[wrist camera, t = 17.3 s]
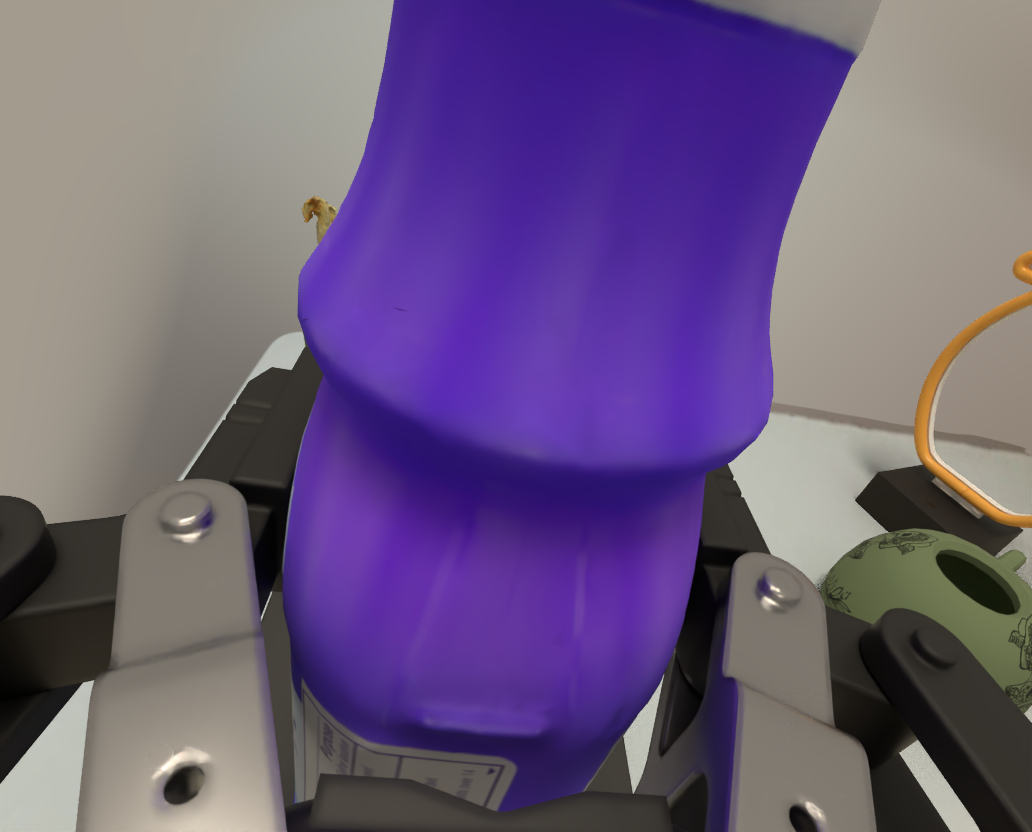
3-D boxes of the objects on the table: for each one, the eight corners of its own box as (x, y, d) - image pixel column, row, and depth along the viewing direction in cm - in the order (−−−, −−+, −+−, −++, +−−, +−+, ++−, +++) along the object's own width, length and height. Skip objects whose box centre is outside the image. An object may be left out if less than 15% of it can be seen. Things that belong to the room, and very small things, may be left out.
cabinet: (561, 984, 23) (654, 919, 16) (203, 983, 21) (152, 909, 14) (540, 645, 35) (589, 531, 28) (310, 624, 32) (308, 495, 26)
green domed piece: (938, 784, 33) (1053, 717, 28) (771, 603, 41) (836, 526, 36) (1044, 682, 41) (1149, 614, 36) (886, 547, 49) (952, 477, 44)
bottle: (347, 623, 17) (393, -183, 7) (529, 647, 18) (817, -58, 7) (255, 948, 11) (-381, -1305, 1) (532, 965, 12) (1862, -277, 2)
